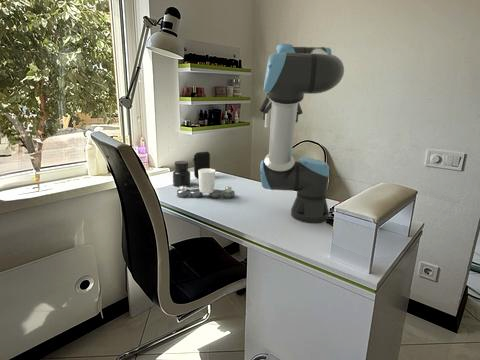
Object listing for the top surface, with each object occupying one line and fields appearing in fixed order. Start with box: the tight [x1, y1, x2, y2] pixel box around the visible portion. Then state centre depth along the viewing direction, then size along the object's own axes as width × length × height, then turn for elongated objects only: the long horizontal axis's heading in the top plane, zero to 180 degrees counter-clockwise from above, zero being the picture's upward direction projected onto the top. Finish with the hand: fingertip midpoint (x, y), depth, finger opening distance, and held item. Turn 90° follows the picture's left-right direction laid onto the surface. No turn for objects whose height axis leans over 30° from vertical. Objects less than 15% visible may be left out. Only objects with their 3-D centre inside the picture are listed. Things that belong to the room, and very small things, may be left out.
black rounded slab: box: [192, 151, 211, 179], centre depth 179 cm, size 11×3×15 cm, turn 127°
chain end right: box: [208, 186, 236, 200], centre depth 150 cm, size 6×12×4 cm, turn 91°
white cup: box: [198, 168, 216, 194], centre depth 149 cm, size 8×8×10 cm
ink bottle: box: [172, 160, 191, 188], centre depth 166 cm, size 10×9×12 cm
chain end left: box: [176, 186, 204, 199], centre depth 150 cm, size 6×12×4 cm, turn 91°
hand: (279, 128), depth 151 cm, fingers open, 13 cm apart
